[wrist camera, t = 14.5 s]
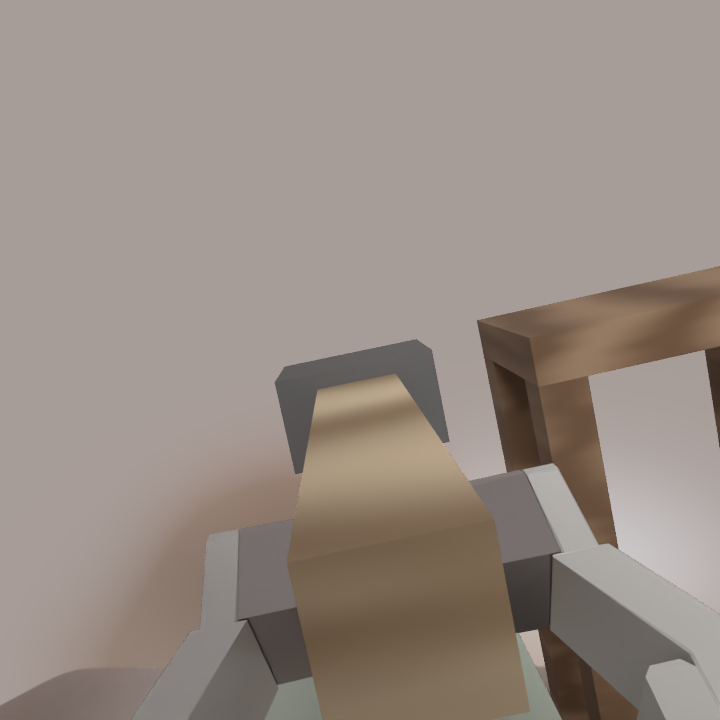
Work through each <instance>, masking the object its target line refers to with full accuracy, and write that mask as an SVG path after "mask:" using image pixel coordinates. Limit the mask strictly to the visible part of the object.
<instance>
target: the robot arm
mask: <svg viewBox="0 0 720 720" xmlns="http://www.w3.org/2000/svg"><path fill="white" fill-rule="evenodd" d="M469 482H470V484H471V485H472V487H473V488H474V490H475V491H476V493H477V494H478V496H479V497H480V499H481V500H482V502H483V503H484V505H485V506H486V508H487V509H488V510H489V512H490V513H491V515H492V516H493V518H494V521H495V526H496V531H497V537H498V542H499V547H500V553H501V558H502V563H503V569H504V574H505V579H506V585H507V590H508V595H509V601H510V606H511V611H512V617H513V622H514V627H515V632H516V633H521V632H526V631H531V630H537V629H542V628H548V627H550V630H551V631H552V632H553V633H554V634H555V635H556V636H558V637H559V638H560V639H561V640H562V641H563V642H564V643H565V644H566V645H567V646H569V647H570V648H571V649H572V650H573V651H574V652H575V653H576V654H577V655H578V656H580V657H581V658H582V659H583V660H584V661H585V662H586V663H587V664H588V665H589V666H591V667H592V668H593V669H594V670H595V671H596V672H597V673H598V674H599V675H600V676H602V677H603V678H604V679H605V680H606V681H607V682H608V683H609V684H610V685H611V686H613V687H614V688H615V689H616V690H617V691H618V692H619V693H620V694H621V695H622V696H624V697H625V698H626V699H627V700H628V701H629V702H630V703H631V704H632V705H633V706H635V707H636V708H637V709H638V715H637V720H720V614H719V613H718V612H716V611H715V610H713V609H711V608H710V607H708V606H706V605H705V604H703V603H702V602H700V601H698V600H697V599H696V598H694V597H692V596H691V595H689V594H688V593H686V592H685V591H683V590H681V589H680V588H678V587H676V586H675V585H673V584H672V583H670V582H669V581H667V580H665V579H664V578H662V577H661V576H659V575H658V574H656V573H655V572H653V571H651V570H650V569H648V568H647V567H645V566H644V565H642V564H640V563H639V562H637V561H636V560H634V559H632V558H631V557H629V556H628V555H626V554H625V553H623V552H621V551H620V550H618V549H617V548H615V547H614V546H612V545H610V544H609V543H607V544H601V545H599V544H598V542H597V541H596V539H595V537H594V535H593V533H592V531H591V529H590V527H589V525H588V523H587V522H586V520H585V518H584V516H583V514H582V512H581V510H580V508H579V506H578V505H577V503H576V501H575V499H574V497H573V495H572V493H571V491H570V489H569V488H568V486H567V484H566V482H565V480H564V478H563V476H562V474H561V472H560V470H559V469H558V467H557V466H555V465H554V464H553V463H552V464H547V465H542V466H538V467H533V468H528V469H523V470H522V471H521V470H517V471H512V472H508V473H503V474H499V475H494V476H490V477H485V478H481V479H476V480H472V481H469ZM293 524H294V519H290V520H285V521H279V522H274V523H268V524H263V525H257V526H252V527H246V528H242V529H238V530H232V531H227V532H222V533H216V534H211V535H209V538H208V541H207V543H206V551H205V565H204V578H203V592H202V606H201V620H200V629H199V630H195V631H191V632H190V633H189V634H188V636H187V637H186V639H185V640H184V642H183V643H182V645H181V646H180V648H179V649H178V651H177V652H176V654H175V655H174V656H173V658H172V659H171V661H170V662H169V664H168V666H167V667H166V668H165V670H164V671H163V673H162V674H161V676H160V677H159V679H158V680H157V681H156V683H155V684H154V686H153V687H152V689H151V690H150V692H149V693H148V695H147V696H146V698H145V699H144V701H143V702H142V704H141V705H140V706H139V708H138V709H137V711H136V712H135V714H134V715H133V717H132V718H131V720H265V718H266V716H267V713H268V711H269V709H270V707H271V705H272V702H273V700H274V698H275V696H276V693H277V691H278V689H279V688H278V686H277V685H280V684H284V683H288V682H292V681H297V680H301V679H305V678H309V677H313V676H312V672H311V668H310V663H309V659H308V654H307V650H306V646H305V641H304V637H303V633H302V628H301V624H300V619H299V615H298V611H297V606H296V602H295V598H294V593H293V589H292V584H291V580H290V576H289V571H288V567H287V557H288V552H289V546H290V541H291V535H292V530H293Z"/></svg>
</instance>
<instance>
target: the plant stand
mask: <svg viewBox="0 0 720 720" xmlns="http://www.w3.org/2000/svg"><path fill="white" fill-rule="evenodd" d="M477 323H478V328H479V333H480V338H481V343H482V348H483V353H484V358H485V363H486V368H487V373H488V378H489V384H490V389H491V394H492V399H493V404H494V409H495V414H496V419H497V424H498V429H499V434H500V439H501V444H502V449H503V454H504V459H505V464H506V470H507V473H508V472H512V471H517V470H521V471H522V470H523V469H528V468H533V467H538V466H542V465H547V464H552V463H553V464H554V465H555V466H557V467H558V469H559V470H560V472H561V474H562V476H563V478H564V480H565V482H566V484H567V486H568V488H569V489H570V491H571V493H572V495H573V497H574V499H575V501H576V503H577V505H578V506H579V508H580V510H581V512H582V514H583V516H584V518H585V520H586V522H587V523H588V525H589V527H590V529H591V531H592V533H593V535H594V537H595V539H596V541H597V542H598V544H599V545H601V544H607V543H609V544H610V545H612V546H614V547H615V548H617V549H618V544H617V538H616V532H615V527H614V522H613V516H612V511H611V504H610V499H609V493H608V487H607V482H606V476H605V471H604V465H603V460H602V454H601V448H600V442H599V438H598V431H597V426H596V420H595V414H594V409H593V403H592V397H591V392H590V386H589V380H588V376H589V375H594V374H598V373H602V372H607V371H612V370H616V369H621V368H625V367H629V366H634V365H639V364H643V363H648V362H652V361H657V360H661V359H665V358H670V357H675V356H679V355H683V354H688V353H692V352H697V351H701V350H705V354H706V361H707V367H708V373H709V379H710V387H711V393H712V400H713V407H714V413H715V419H716V426H717V432H718V439H719V446H720V266H719V267H714V268H710V269H706V270H701V271H697V272H692V273H688V274H683V275H679V276H674V277H670V278H665V279H661V280H657V281H652V282H648V283H643V284H638V285H634V286H630V287H625V288H620V289H616V290H611V291H607V292H602V293H599V294H594V295H589V296H585V297H580V298H576V299H571V300H567V301H563V302H558V303H553V304H549V305H545V306H540V307H535V308H531V309H526V310H522V311H518V312H513V313H508V314H504V315H500V316H495V317H491V318H486V319H482V320H477ZM618 550H619V549H618ZM538 631H539V636H540V641H541V646H542V652H543V657H544V662H545V667H546V672H547V677H548V682H549V687H550V692H551V697H552V701H553V703H554V705H555V707H556V709H557V711H558V713H559V715H560V717H561V719H562V720H637V715H638V709H637V708H636V707H635V706H633V705H632V704H631V703H630V702H629V701H628V700H627V699H626V698H625V697H624V696H622V695H621V694H620V693H619V692H618V691H617V690H616V689H615V688H614V687H613V686H611V685H610V684H609V683H608V682H607V681H606V680H605V679H604V678H603V677H602V676H600V675H599V674H598V673H597V672H596V671H595V670H594V669H593V668H592V667H591V666H589V665H588V664H587V663H586V662H585V661H584V660H583V659H582V658H581V657H580V656H578V655H577V654H576V653H575V652H574V651H573V650H572V649H571V648H570V647H569V646H567V645H566V644H565V643H564V642H563V641H562V640H561V639H560V638H559V637H558V636H556V635H555V634H554V633H553V632H552V631H551V630H550V627H548V628H542V629H538Z"/></svg>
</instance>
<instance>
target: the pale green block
mask: <svg viewBox="0 0 720 720" xmlns="http://www.w3.org/2000/svg"><path fill="white" fill-rule="evenodd" d="M516 638H517V643H518V648H519V654H520V659H521V664H522V670H523V675H524V680H525V686H526V691H527V696H528V702H529V707H530V712H526V713H521V714H517V715H512V716H508V717H503V718H498V719H494V720H562V719H561V717H560V715H559V713H558V711H557V709H556V707H555V705H554V703H553V701H552V699H551V697H550V695H549V693H548V691H547V689H546V687H545V685H544V683H543V681H542V679H541V677H540V675H539V673H538V671H537V669H536V667H535V665H534V663H533V661H532V659H531V657H530V655H529V653H528V651H527V649H526V647H525V645H524V642H523V640H522V639H521V636H520V634H519V633H516ZM277 686H278V688H279V689H278V691H277V693H276V696H275V698H274V700H273V702H272V705H271V707H270V709H269V711H268V713H267V716H266V718H265V720H322V716H321V711H320V707H319V702H318V698H317V694H316V689H315V685H314V681H313V677H309V678H305V679H301V680H297V681H292V682H288V683H284V684H280V685H277Z"/></svg>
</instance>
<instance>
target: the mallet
mask: <svg viewBox="0 0 720 720" xmlns="http://www.w3.org/2000/svg"><path fill="white" fill-rule="evenodd" d="M275 385H276V390H277V394H278V399H279V403H280V408H281V412H282V416H283V421H284V426H285V430H286V435H287V439H288V444H289V448H290V452H291V457H292V461H293V466H294V470H295V474H298V473H303V474H302V479H301V485H300V491H299V496H298V502H297V508H296V513H295V518H294V524H293V530H292V535H291V541H290V546H289V552H288V557H287V567H288V571H289V576H290V580H291V584H292V589H293V593H294V598H295V602H296V606H297V611H298V615H299V619H300V624H301V628H302V633H303V637H304V641H305V646H306V650H307V654H308V659H309V663H310V668H311V672H312V676H313V681H314V685H315V689H316V694H317V698H318V702H319V707H320V711H321V716H322V720H494V719H498V718H503V717H508V716H512V715H517V714H521V713H526V712H530V707H529V702H528V696H527V691H526V686H525V680H524V675H523V670H522V664H521V659H520V654H519V648H518V643H517V638H516V632H515V627H514V622H513V617H512V611H511V606H510V601H509V595H508V590H507V585H506V579H505V574H504V569H503V563H502V558H501V553H500V547H499V542H498V537H497V531H496V526H495V521H494V518H493V516H492V515H491V513H490V512H489V510H488V509H487V508H486V506H485V505H484V503H483V502H482V500H481V499H480V497H479V496H478V494H477V493H476V491H475V490H474V488H473V487H472V485H471V484H470V482H469V481H468V479H467V478H466V477H465V475H464V474H463V472H462V471H461V469H460V468H459V466H458V465H457V463H456V462H455V460H454V459H453V458H452V456H451V454H450V453H449V452H448V450H447V449H446V447H445V446H444V444H443V443H445V442H449V437H448V432H447V427H446V421H445V416H444V411H443V406H442V400H441V395H440V390H439V385H438V380H437V375H436V369H435V365H434V359H433V354H432V350H431V349H430V348H428V347H427V346H425V345H424V344H422V343H421V342H419V341H418V340H411V341H406V342H402V343H397V344H392V345H387V346H382V347H377V348H373V349H368V350H363V351H358V352H353V353H349V354H344V355H339V356H334V357H329V358H325V359H320V360H315V361H310V362H305V363H300V364H296V365H291V366H287V367H284V369H283V370H282V372H281V374H280V375H279V377H278V378H277V380H276V381H275Z"/></svg>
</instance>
